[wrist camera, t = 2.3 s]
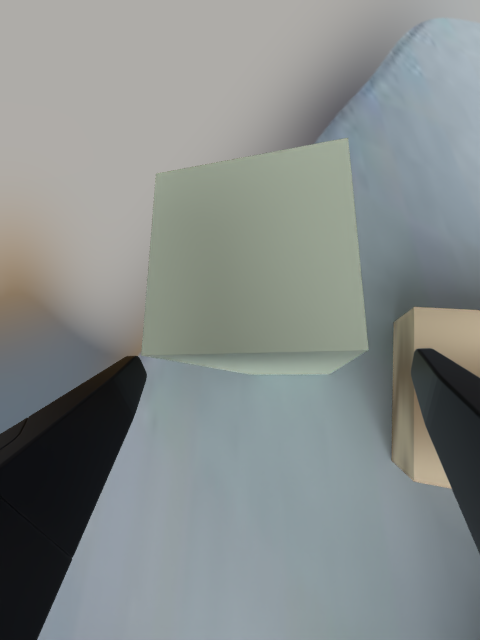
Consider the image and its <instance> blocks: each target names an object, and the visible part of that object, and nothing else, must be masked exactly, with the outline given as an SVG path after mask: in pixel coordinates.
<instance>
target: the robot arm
mask: <svg viewBox="0 0 480 640" xmlns="http://www.w3.org/2000/svg"><path fill="white" fill-rule="evenodd" d="M146 378H147V374H146V371H145V369H144V366H143V364H142V362H141V360H140V358H139V357H138V356H127V357H124V358H123V359H121V360H120V361H118V362H116V363H115V364H113V365H112V366H110V367H108V368H107V369H105V370H103V371H102V372H100V373H99V374H97V375H95V376H94V377H92V378H91V379H89V380H87V381H86V382H84V383H82V384H81V385H79V386H78V387H76V388H74V389H73V390H71V391H70V392H68V393H66V394H65V395H63V396H62V397H60V398H58V399H57V400H55V401H53V402H52V403H50V404H49V405H47V406H45V407H44V408H42V409H40V410H39V411H37V412H36V413H34V414H32V415H31V416H29V418H26V419H24V420H23V421H21V422H19V423H18V424H16V425H14V426H13V427H11V428H9V429H8V430H6V431H5V432H3V433H1V434H0V640H37V639H38V637H39V634H40V632H41V630H42V627H43V625H44V623H45V620H46V618H47V616H48V614H49V611H50V609H51V607H52V604H53V602H54V600H55V598H56V595H57V593H58V591H59V588H60V586H61V584H62V581H63V579H64V577H65V575H66V572H67V570H68V568H69V565H70V563H71V561H72V557H73V556H74V554H75V551H76V549H77V547H78V544H79V542H80V540H81V538H82V535H83V533H84V531H85V528H86V526H87V524H88V522H89V519H90V517H91V515H92V512H93V510H94V508H95V506H96V503H97V501H98V499H99V496H100V494H101V492H102V490H103V487H104V485H105V483H106V480H107V478H108V476H109V473H110V471H111V469H112V467H113V464H114V462H115V460H116V457H117V455H118V453H119V451H120V448H121V446H122V444H123V441H124V439H125V437H126V435H127V432H128V430H129V428H130V425H131V423H132V421H133V418H134V416H135V413H136V410H137V407H138V404H139V401H140V397H141V394H142V391H143V388H144V385H145V382H146ZM411 378H412V382H413V385H414V389H415V392H416V396H417V399H418V403H419V406H420V410H421V413H422V417H423V420H424V423H425V426H426V428H427V431H428V434H429V436H430V438H431V441H432V443H433V445H434V448H435V450H436V452H437V455H438V457H439V459H440V462H441V464H442V467H443V469H444V471H445V474H446V476H447V478H448V481H449V483H450V485H451V488H452V490H453V492H454V495H455V497H456V499H457V502H458V504H459V507H460V509H461V511H462V514H463V516H464V518H465V521H466V523H467V525H468V528H469V530H470V532H471V535H472V537H473V539H474V542H475V544H476V547H477V549H478V551H479V554H480V377H478V376H476V375H475V374H473V373H472V372H470V371H468V370H467V369H465V368H463V367H462V366H460V365H459V364H457V363H455V362H454V361H452V360H451V359H449V358H447V357H446V356H444V355H442V354H441V353H439V352H438V351H436V350H434V349H432V348H418V349H416V350H415V352H414V356H413V361H412V366H411Z"/></svg>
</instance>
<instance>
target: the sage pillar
mask: <svg viewBox="0 0 480 640" xmlns="http://www.w3.org/2000/svg"><path fill="white" fill-rule="evenodd" d="M367 351H368V339H367V329H366V319H365V308H364V298H363V288H362V277H361V267H360V257H359V246H358V236H357V226H356V215H355V205H354V195H353V184H352V174H351V164H350V153H349V143H348V138H344V139H339V140H333V141H328V142H323V143H317V144H312V145H307V146H302V147H296V148H291V149H286V150H280V151H275V152H270V153H264V154H259V155H253V156H248V157H243V158H237V159H232V160H227V161H221V162H216V163H211V164H205V165H200V166H195V167H190V168H184V169H179V170H173V171H168V172H163V173H158V174H156V181H155V193H154V205H153V218H152V229H151V241H150V255H149V267H148V279H147V291H146V303H145V315H144V328H143V340H142V352H141V356H147V357H153V358H159V359H164V360H170V361H176V362H181V363H187V364H193V365H198V366H204V367H210V368H215V369H221V370H227V371H233V372H238V373H244V374H250V375H323V374H331V373H333V372H334V371H336V370H338V369H339V368H341V367H342V366H344V365H346V364H347V363H349V362H350V361H352V360H354V359H355V358H357V357H359V356H360V355H362V354H363V353H365V352H367Z"/></svg>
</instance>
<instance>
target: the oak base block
mask: <svg viewBox="0 0 480 640" xmlns="http://www.w3.org/2000/svg"><path fill="white" fill-rule="evenodd" d="M418 348H432V349H434V350H436V351H438V352H439V353H441V354H442V355H444V356H446V357H447V358H449V359H451V360H452V361H454V362H455V363H457V364H459V365H460V366H462V367H463V368H465V369H467V370H468V371H470V372H472V373H473V374H475V375H476V376H478V377H480V310H467V309H447V308H426V307H413V308H412V309H411V310H409V311H408V312H407V313H405V314H404V315H403V316H402V317H400V318H399V319H398V320H396V321H395V322H394V330H393V394H392V457H391V460H392V461H393V462H394V463H395V464H396V465H397V466H398V467H399V468H400V469H401V470H402V471H403V472H404V473H405V474H406V475H407V476H409V477H410V478H411V479H412V480H413V481H414V482H419V483H424V484H429V485H435V486H440V487H445V488H450V489H452V488H451V485H450V483H449V481H448V478H447V476H446V474H445V471H444V469H443V467H442V464H441V462H440V459H439V457H438V455H437V452H436V450H435V448H434V445H433V443H432V441H431V438H430V436H429V434H428V431H427V428H426V426H425V423H424V420H423V417H422V413H421V410H420V406H419V403H418V399H417V396H416V392H415V389H414V385H413V382H412V378H411V366H412V361H413V356H414V352H415V350H416V349H418Z"/></svg>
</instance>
